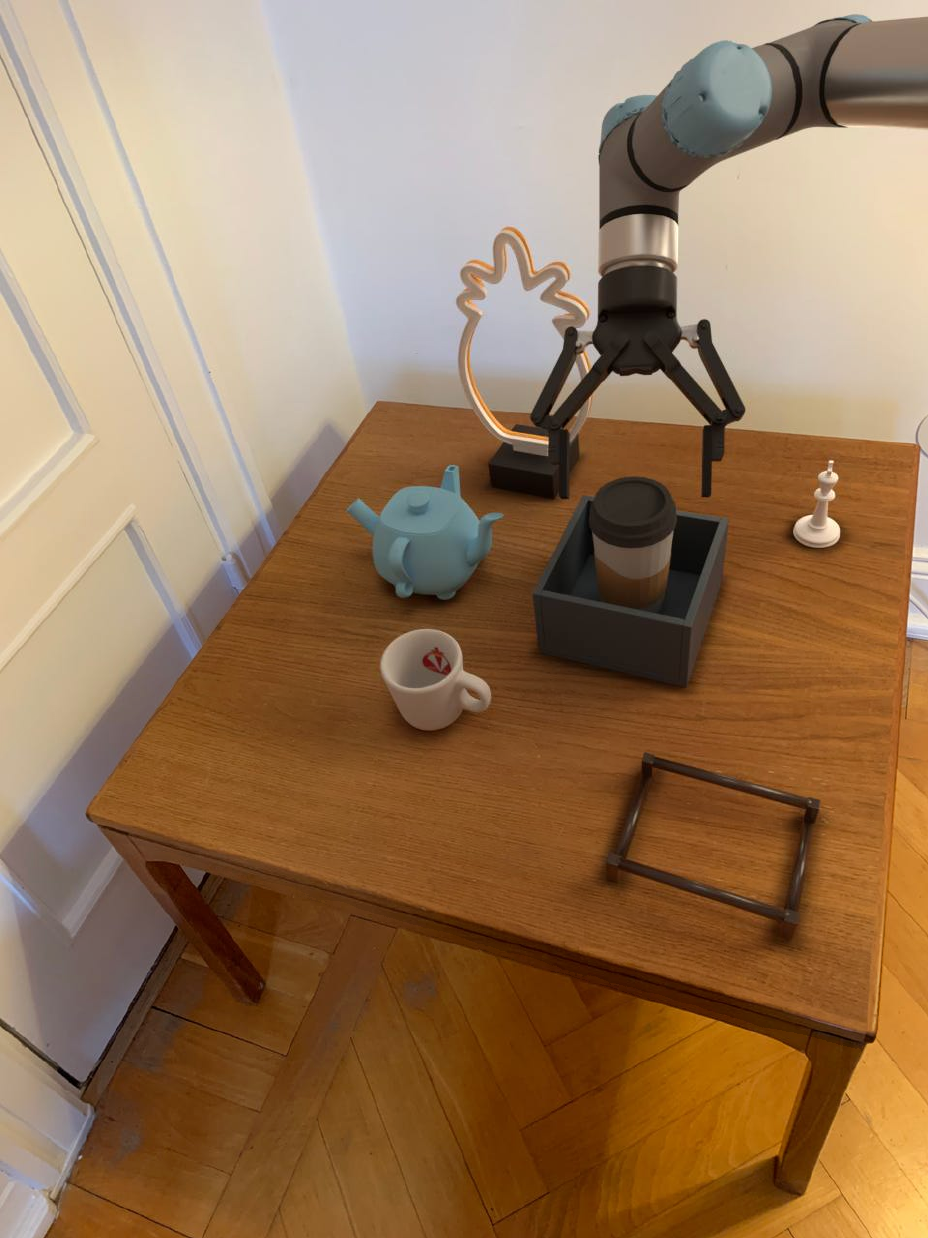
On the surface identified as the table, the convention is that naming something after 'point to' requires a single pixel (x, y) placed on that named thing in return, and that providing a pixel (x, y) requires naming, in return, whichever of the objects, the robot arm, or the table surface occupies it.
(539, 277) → the lamp
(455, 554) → the teapot
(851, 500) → the table surface
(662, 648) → the grey open box
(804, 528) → the chess piece
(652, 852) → the table surface
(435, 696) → the cup
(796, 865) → the rectangular rod frame
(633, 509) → the coffee cup
